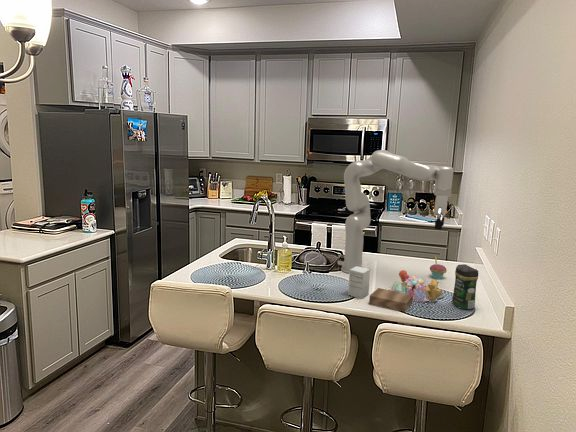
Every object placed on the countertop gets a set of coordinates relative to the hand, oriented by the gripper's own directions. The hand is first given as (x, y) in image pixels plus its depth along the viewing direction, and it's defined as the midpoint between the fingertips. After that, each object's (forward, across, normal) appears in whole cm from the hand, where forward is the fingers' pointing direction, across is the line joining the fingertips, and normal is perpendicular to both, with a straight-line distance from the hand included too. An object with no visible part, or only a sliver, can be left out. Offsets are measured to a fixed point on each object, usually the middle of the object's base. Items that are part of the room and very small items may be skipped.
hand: (439, 227), depth 215 cm
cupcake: (+31, -18, 0) cm, 36 cm away
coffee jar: (+31, +20, +15) cm, 39 cm away
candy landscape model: (+31, +13, -6) cm, 35 cm away
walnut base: (+31, +33, -14) cm, 47 cm away
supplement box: (+31, +29, -30) cm, 52 cm away
